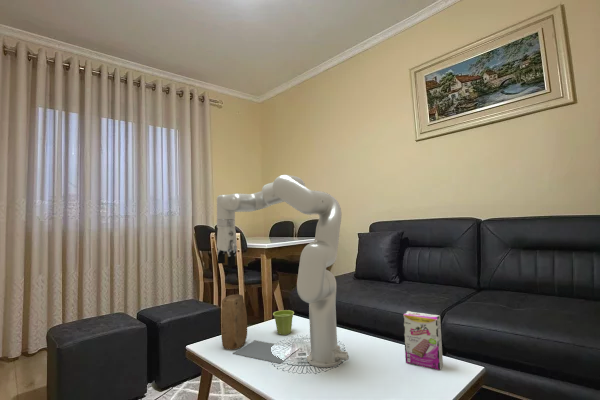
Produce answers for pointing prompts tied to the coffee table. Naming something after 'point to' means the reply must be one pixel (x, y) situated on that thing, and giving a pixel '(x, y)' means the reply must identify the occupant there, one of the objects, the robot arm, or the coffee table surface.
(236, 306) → the block
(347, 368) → the coffee table surface
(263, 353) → the mat
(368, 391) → the coffee table surface
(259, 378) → the coffee table surface
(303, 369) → the coffee table surface
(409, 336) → the candy bar box
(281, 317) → the plant pot
